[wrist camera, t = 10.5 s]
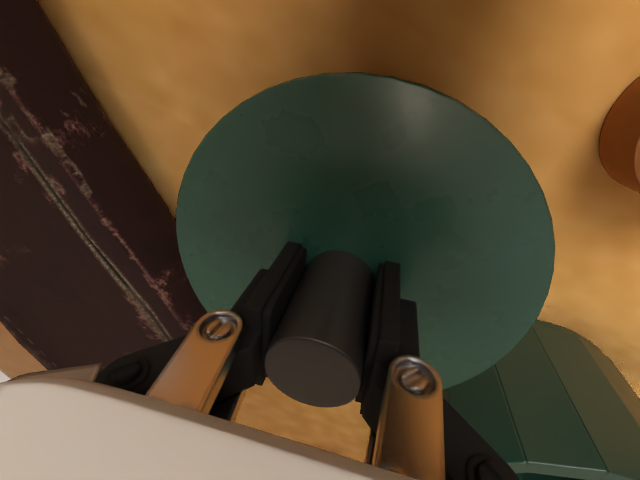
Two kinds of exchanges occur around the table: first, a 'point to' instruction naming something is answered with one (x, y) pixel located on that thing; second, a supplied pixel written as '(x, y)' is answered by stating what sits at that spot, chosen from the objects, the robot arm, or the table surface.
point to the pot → (555, 409)
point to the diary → (77, 215)
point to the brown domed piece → (623, 139)
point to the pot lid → (368, 225)
